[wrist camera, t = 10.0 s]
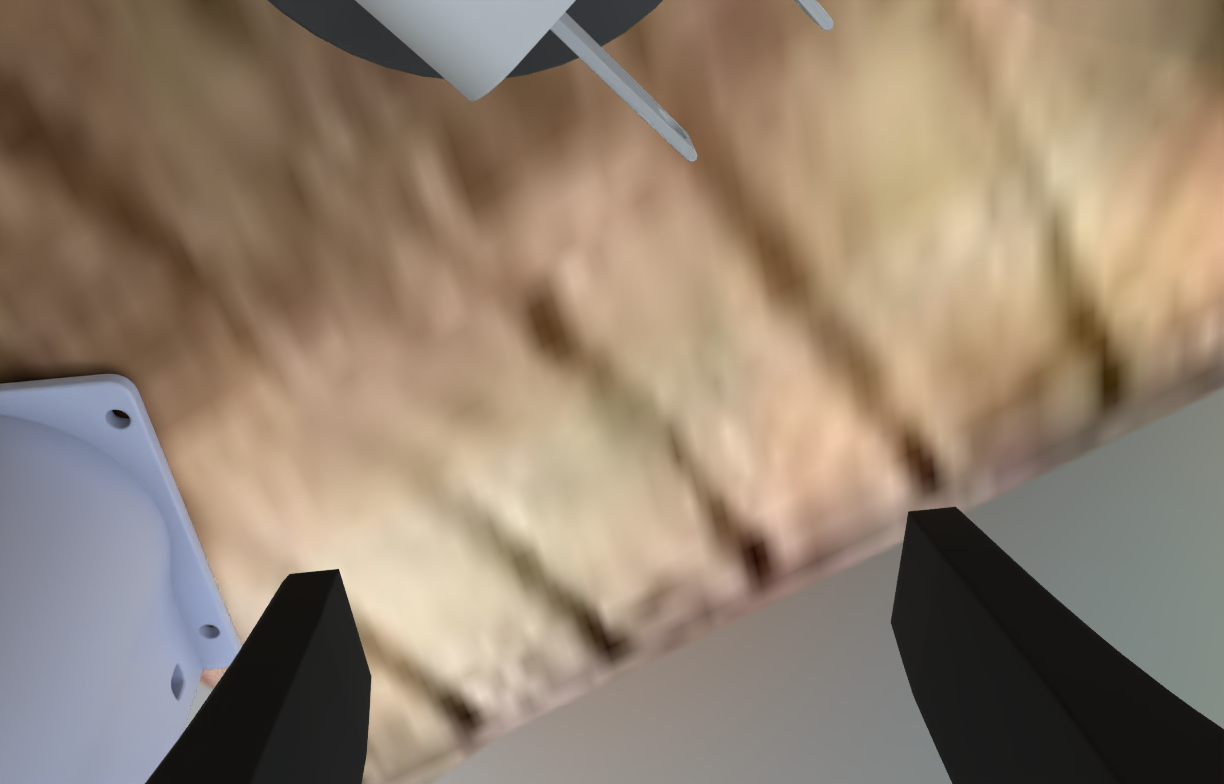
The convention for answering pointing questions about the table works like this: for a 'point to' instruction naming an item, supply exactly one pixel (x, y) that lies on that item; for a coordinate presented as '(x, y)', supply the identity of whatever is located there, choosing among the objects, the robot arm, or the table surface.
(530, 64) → the coffee cup
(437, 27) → the usb wall charger
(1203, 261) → the table surface
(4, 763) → the robot arm
